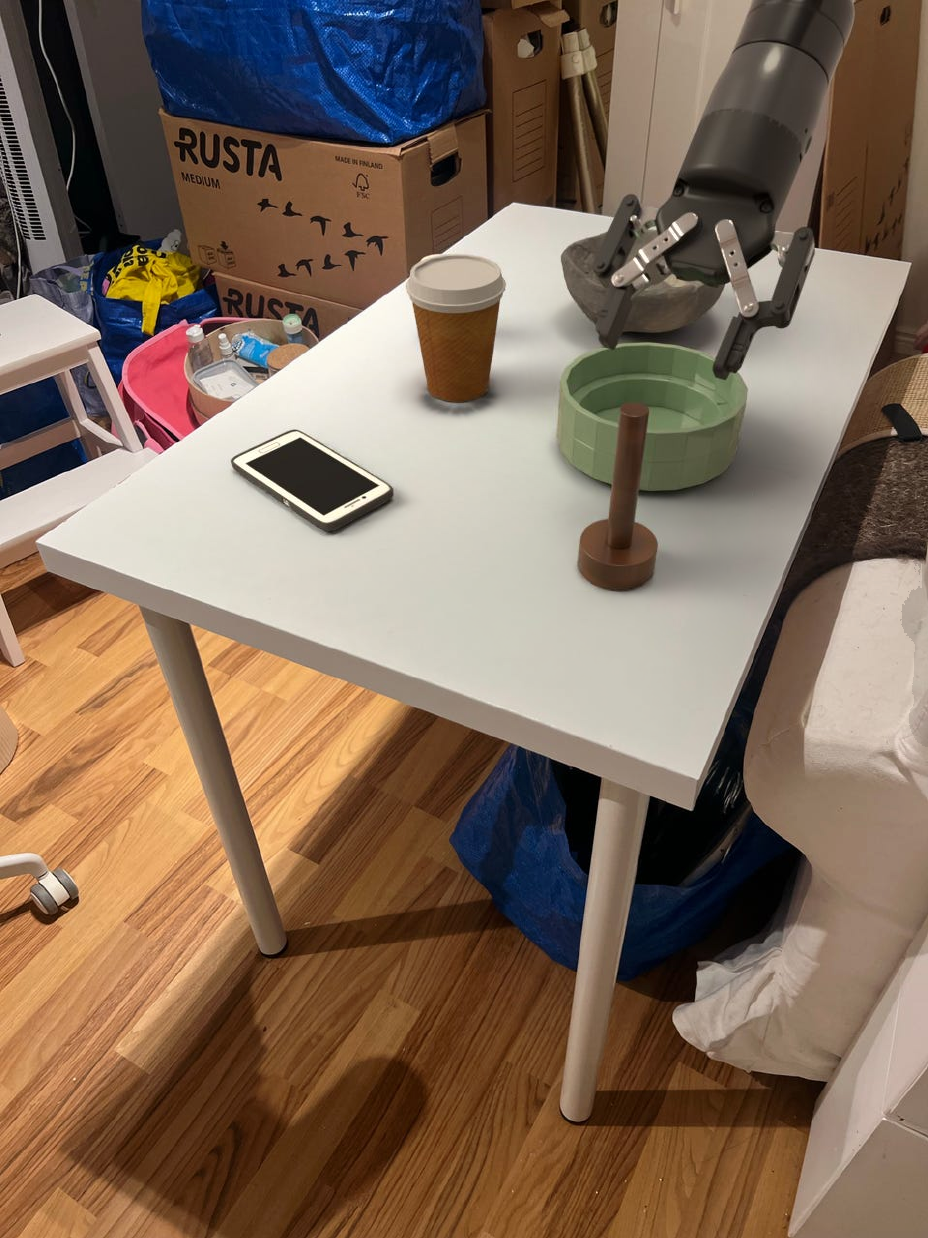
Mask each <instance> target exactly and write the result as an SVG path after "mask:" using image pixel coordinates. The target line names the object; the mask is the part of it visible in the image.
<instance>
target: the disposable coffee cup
mask: <svg viewBox="0 0 928 1238" xmlns="http://www.w3.org/2000/svg"><path fill="white" fill-rule="evenodd" d="M506 287H507V282H506V279H505V278H504V277H503V274H502V269H501V267H500V266H499V264H498V263H496V262H494V261H493V260H492V259H489V258H486V257H484V256H479V255H474V254H465V253H462V254H461V253H450V254H445V255H440V256H436V257H432V258H428V259H425V260H423V261H421V260H420V261H419V262H417V263H416V264H414V265H413V266H412V267H411V269H410V272H409V277H408V280H407V281H406V283H405V290H406V294H407V295H408V297H409V300H410V301H411V303H412V309H413V314H414V315H413V316H414V320H415V325H416V330H417V336H418V340H419V341H418V342H419V348H420V353H421V357H422V364H423V370H424V375H425V380H426V386H427V390H428V392H429V394H430V395H432V397H434V398H436V399H439V400H442V401H446V402H452V403H454V402H456V403H458V402H469V401H472V400H476V399H478V398H481V397H483V396H484V395H486V393H487V392H488V390H489V387H490V378H491V371H492V363H493V355H494V347H495V341H496V335H497V334H496V333H497V326H498V319H499V312H500V304H501V299H502V297H503V295H504V292H505V291H506Z"/></svg>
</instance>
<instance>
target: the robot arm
mask: <svg viewBox="0 0 928 1238" xmlns="http://www.w3.org/2000/svg"><path fill="white" fill-rule="evenodd" d="M855 14H856V12H855V3H854V0H751V3H750V7H749V8H748V12H747V13H746V17H745V20H744V22H743V24H742V27H741V29H740V32H739V34H738V37H737V39H736V42H735V44H734V47H733V49H732V52H731V54H730V57H729V58H728V61H727V62H726V64H725V66H724V68H723V70H722V72H721V73H720V75H719V77H718V79H717V81H716V82H715V84H714V86H713V88H712V90H711V93H710V95H709V98H708V100H707V103H706V105H705V108H704V110H703V113H702V115H701V118H700V120H699V123H698V124H697V127H696V130H695V132H694V134H693V137H692V140H691V143H690V145H689V147H688V150H687V152H686V154H685V157H684V160H683V162H682V164H681V166H680V169H679V171H678V174H677V176H676V179H675V182H674V185H673V188H672V192H671V195H670V196H669V197H668V198H667V200H666V201H665V203H663V204H662V205H661V206H660V207H657V206H652V205H649V204H645V203H641V202H640V200H639V198H638V196H637V195H636V194H634V193H629V194H626V195H625V196H624V197H623V198H622V200H621V201H620V204H619V205H618V206H619V207H618V208H617V210H616V212H615V214H614V216H613V219H612V221H611V223H610V225H609V227H608V229H607V231H606V232H607V234H606V236H605V238H604V240H603V242H602V244H601V246H600V249H599V251H598V253H597V255H596V257H595V259H594V261H593V264H592V268H593V270H594V272H595V274H596V275H597V277H598V279H599V281H600V282H601V284H602V285H603V286H604V287H606V288H609V293H608V295H607V298H606V300H605V303H604V305H603V308H602V311H601V313H600V316H599V317H598V320H597V322H596V324H595V331H596V333H597V335H598V341H599V342H600V344H601V345H602V348H603V347H604V348H607V349H611V350H614V349H615V348H616V346H617V345H618V343H619V341H620V339H621V336H622V334H623V332H622V331H623V329H624V326H625V324H626V321H627V319H628V316H629V314H630V311H631V309H632V306H633V302H632V299H633V298H634V297H636V296H637V295H638V294H640V293H641V292H643V291H644V290H645V289H647V288H648V287H650V286H652V285H658V284H659V283H661V282H662V281H664V280H665V279H666V278H668V277H669V276H670V275H672V274H674V275H675V276H676V279H678V280H683V281H700V282H701V283H703V284H705V285H707V286H710V287H714V288H719V285H724V284H725V285H727V284H729V283H730V284H731V287H732V291H733V294H734V297H735V301H736V304H737V307H738V311H739V312H738V314H737V316H733V315H732V317H731V320H730V322H729V326H728V327H727V329H726V332H725V335H724V337H723V339H722V342H721V344H720V346H719V350H718V352H717V354H716V356H715V358H716V359H715V361H714V364H713V368H712V370H713V373H714V375H715V378H719V379H723V380H726V379H727V378H728V376H729V373H734V374H736V373H737V372H738V373H739V371H740V369H741V368H742V366H743V365H744V362H745V359H746V357H747V354H748V352H749V349H750V347H751V345H752V343H753V340H754V338H755V335H756V333H757V332H758V331H760V330H761V329H764V328H768V327H769V328H771V327H775V328H776V329H781V330H782V329H786V328H788V327H789V326H790V325H791V323H792V320H793V317H794V314H795V312H796V309H797V307H798V303H799V300H800V297H801V294H802V292H803V288H804V285H805V283H806V280H807V277H808V274H809V271H810V268H811V265H812V262H813V261H814V257H815V254H816V248H815V237H814V232H813V229H812V228H811V227H809V226H802V227H799V228H797V229H796V231H795V232H792V231H786V230H785V231H784V230H776V225H777V221H778V219H780V218H779V217H780V215H781V212H782V210H783V208H784V205H785V203H786V200H787V199H788V196H789V194H790V191H791V189H792V186H793V184H794V181H795V179H796V176H797V174H798V171H799V168H800V167H801V165H802V162H803V159H804V157H805V155H806V154H807V153H808V151H809V149H810V147H811V144H812V141H813V135H814V133H815V130H816V127H817V125H818V122H819V120H820V119H819V118H820V115H821V111H822V108H823V103H824V100H825V97H826V94H827V91H828V89H829V87H830V84H831V81H832V79H833V77H834V74H835V72H836V70H837V67H838V65H839V63H840V60H841V58H842V56H843V53H844V50H845V47H846V45H847V43H848V42H849V41H848V40H849V38H850V35H851V33H852V29H853V26H854V22H855V17H856V16H855ZM654 227H655V230H657V233H658V237H656V238H655V239H653V240H652V241H651V242H649V243H648V244H647V245H645V246H644V247H643V248H641V249H640V250H639V251H638V252H637V255H636V257H635V258H634V259H633V260H631V261H630V262H629V263H627V264H626V265H625V266H624V264H625V262H626V260H627V258H628V255H629V253H630V251H631V249H632V247H633V245H634V243H635V241H636V238H642V237H643V236H644V234H645V233H646V231H647V230H650V229H651V228H654ZM772 251H775V252H776V253H777V261H778V265H779V267H781V270H780V274H779V276H778V279H777V283H776V285H775V288H774V291H773V294H772V297H771V300H763V301H758V300H757V299H758V298H757V296H756V292H755V290H754V286H753V283H752V280H751V276H750V273H749V269H751V268H752V267H753V266H755V265H756V264H758V263H759V262H761V260H763V259H764V258H765V257H767V256H768V255H770V254H771V253H772ZM662 256H664V258H663V259H662V260H660V261H659V262H657V261H658V260H659V259H660V258H661V257H662Z"/></svg>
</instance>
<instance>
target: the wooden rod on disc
mask: <svg viewBox="0 0 928 1238" xmlns="http://www.w3.org/2000/svg"><path fill="white" fill-rule="evenodd" d="M648 418H649V408H648V407H647V406H646V405H644V404H642V403H637V402H630V403H626V404H623V405H622V406H621V408H620V415H619V424H618V433H617V442H616V451H615V460H614V469H613V478H612V484H611V487H610V488H611V489H610V498H609V505H608V506H609V507H608V516H607V518H606V519H601V520H598V521H594V522H592V523H590V524H589V525H588V526H586V527H585V528H584V529H583V530H582V532H581V534H580V536H579V542H578V544H579V545H578V553H577V554H578V555H577V569H578V572H579V573H580V575H581V577H583V578H584V580H585V581H587V582H588V583H590V584H591V585H593V586H595V587H598V588H600V589H604V590H609V591H614V592H615V591H616V592H617V591H619V592H620V591H621V592H622V591H631V590H635V589H638V588H640V587H642V586H644V585H645V584H647V583H648V582H649V581H650V580H651V579H652V577H653V575H654V572H655V566H656V560H657V554H658V547H659V543H658V540H657V537H656V536H655V534H654V533H653V531H651V530H650V529H649V528H648V527H647V526H645V525H643V524H641V523H639V522H637V521H635V520H636V514H637V506H638V498H639V491H640V490H639V485H640V477H641V470H642V462H643V455H644V447H645V440H646V433H647V425H648Z"/></svg>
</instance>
